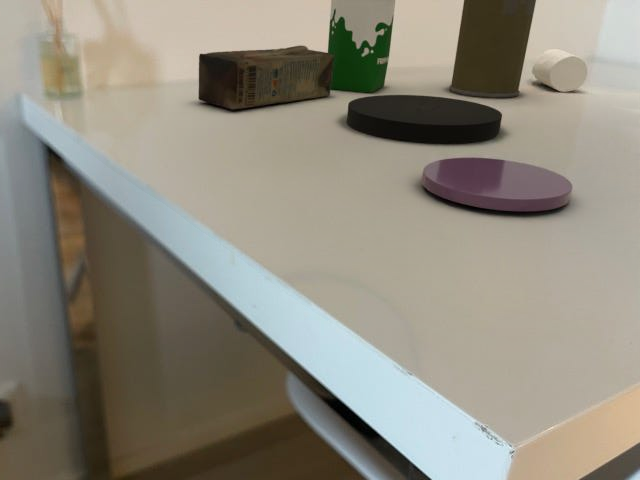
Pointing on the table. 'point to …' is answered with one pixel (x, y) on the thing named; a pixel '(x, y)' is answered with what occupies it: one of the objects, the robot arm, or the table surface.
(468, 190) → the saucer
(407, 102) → the wireless charger
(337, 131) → the table surface
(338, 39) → the milk carton
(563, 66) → the roll
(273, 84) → the beverage carton
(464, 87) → the canister
